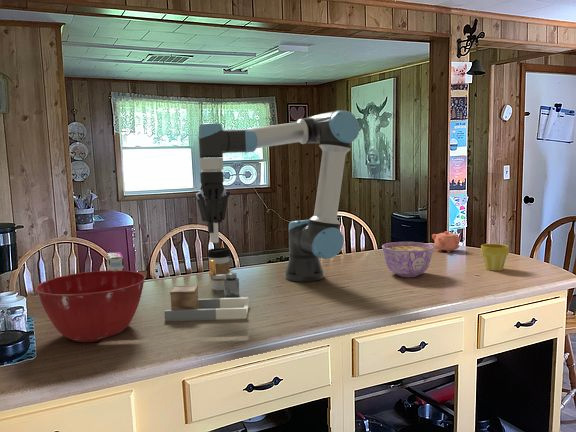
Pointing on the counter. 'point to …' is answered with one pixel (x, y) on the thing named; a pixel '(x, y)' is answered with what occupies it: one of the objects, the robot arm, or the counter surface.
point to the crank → (213, 273)
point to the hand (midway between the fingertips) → (214, 242)
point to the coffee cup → (219, 265)
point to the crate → (184, 297)
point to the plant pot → (494, 256)
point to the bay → (212, 310)
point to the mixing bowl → (91, 303)
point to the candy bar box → (115, 261)
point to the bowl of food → (407, 257)
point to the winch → (231, 289)
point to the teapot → (446, 241)
